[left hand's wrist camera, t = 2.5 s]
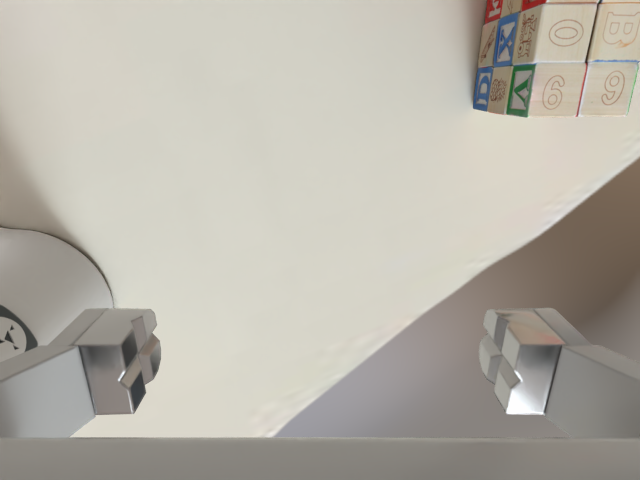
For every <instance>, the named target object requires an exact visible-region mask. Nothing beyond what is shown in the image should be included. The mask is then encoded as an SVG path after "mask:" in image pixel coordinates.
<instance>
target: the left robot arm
mask: <svg viewBox="0 0 640 480" xmlns="http://www.w3.org/2000/svg"><path fill="white" fill-rule="evenodd" d="M156 326H157V322H156V318H155V313H154V312H153V311H152V310H151V309H123V308H114V306H113V300H112V296H111V293H110V290H109V288H108V285H107V284H106V282H105V280H104V278H103V276H102V275H101V273H100V272H99V271H98V269H97V268H96V267H95V266H94V265H93V263H92V262H91V261H90V260H89V259H88V258H87V257H85V256H84V255H83V254H82V253H81V252H79V251H78V250H77V249H75V248H74V247H72V246H71V245H69V244H67V243H66V242H64V241H62V240H60V239H58V238H55V237H53V236H50V235H47V234H44V233H41V232H37V231H31V230H22V229H8V228H2V227H0V480H640V363H639V362H637V361H635V360H632V359H630V358H628V357H625V356H623V355H621V354H618V353H616V352H614V351H611V350H609V349H607V348H604V347H602V346H595V345H592V344H591V343H590V342H589V341H588V340H586V339H585V338H584V337H583V336H582V335H581V334H580V333H579V332H578V331H577V330H576V329H575V328H574V327H573V326H572V325H571V324H570V323H569V322H568V321H567V320H565V319H564V318H563V317H562V316H561V315H560V314H559V313H558V312H557V311H556V310H555V309H552V308H527V309H491V310H487V312H486V314H485V316H484V322H483V326H484V327H485V329H486V330H487V332H488V333H487V334H486V335H485V336H484V337H483V338H482V340H481V341H480V348H479V358H480V365H481V369H482V372H483V374H484V376H485V377H486V379H487V380H488V381H490V382H492V383H493V384H495V390H494V394H495V395H496V397H497V399H498V401H499V402H500V404H501V406H502V408H503V409H504V411H505V413H506V414H530V415H545V417H546V418H547V419H548V420H550V421H551V422H552V423H553V424H555V425H556V426H557V427H559V428H560V429H561V430H563V431H564V432H565V433H566V434H568V435H569V436H570V437H568V438H567V437H564V438H563V437H561V438H560V437H559V438H558V437H545V438H543V437H540V438H539V437H538V438H537V437H532V438H531V437H530V438H529V437H524V438H521V437H516V438H514V437H513V438H511V437H510V438H507V437H503V438H501V437H500V438H499V437H498V438H497V437H496V438H495V437H494V438H493V437H488V438H486V437H480V438H479V437H478V438H68V437H70V436H71V435H72V434H74V433H75V432H76V431H78V430H79V429H80V428H81V427H83V426H84V425H85V424H87V423H88V422H89V421H91V420H92V419H93V418H95V415H110V414H134V413H135V411H136V409H137V408H138V406H139V404H140V402H141V401H142V399H143V397H144V395H145V394H146V390H145V384H147V383H149V382H150V381H152V380H153V379H154V377H155V376H156V374H157V372H158V369H159V365H160V360H161V347H160V341H159V340H158V338H157V337H156V336H155V335H154V334H153V333H152V332H153V330H154V329H155V327H156Z"/></svg>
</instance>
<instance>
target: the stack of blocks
mask: <svg viewBox="0 0 640 480" xmlns="http://www.w3.org/2000/svg"><path fill="white" fill-rule="evenodd" d="M639 62H640V0H487V9H486V16H485V25H483V28H482V36H481V44H480V52H479V59H478V71H477V78H476V85H475V94H474V102H473V109H476V110H481V111H486V112H490V113H496V114H502V115H512V116H519V117H613V116H615V117H624V116H627V114H628V111H629V106H630V102H631V97H632V93H633V89H634V85H635V81H636V77H637V72H638V63H639Z"/></svg>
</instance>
